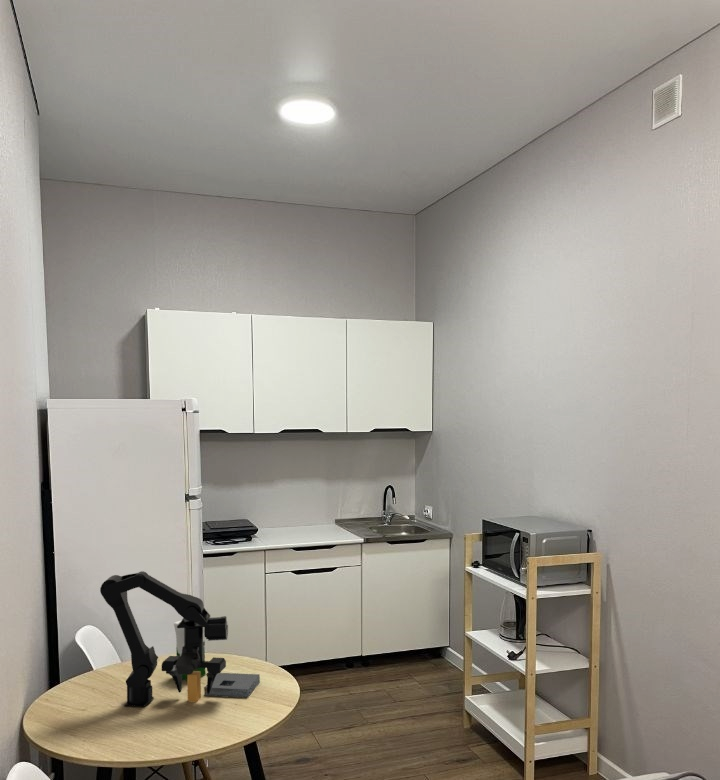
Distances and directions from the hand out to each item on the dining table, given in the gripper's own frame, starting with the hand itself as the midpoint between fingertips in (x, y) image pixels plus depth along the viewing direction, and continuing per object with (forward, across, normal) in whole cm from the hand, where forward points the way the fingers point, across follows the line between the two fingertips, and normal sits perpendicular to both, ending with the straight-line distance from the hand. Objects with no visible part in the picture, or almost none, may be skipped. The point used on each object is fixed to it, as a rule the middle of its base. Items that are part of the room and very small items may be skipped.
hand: (194, 692), depth 205 cm
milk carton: (+2, -9, +18) cm, 20 cm away
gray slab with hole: (+2, +9, +9) cm, 13 cm away
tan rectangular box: (+2, 0, 0) cm, 2 cm away
